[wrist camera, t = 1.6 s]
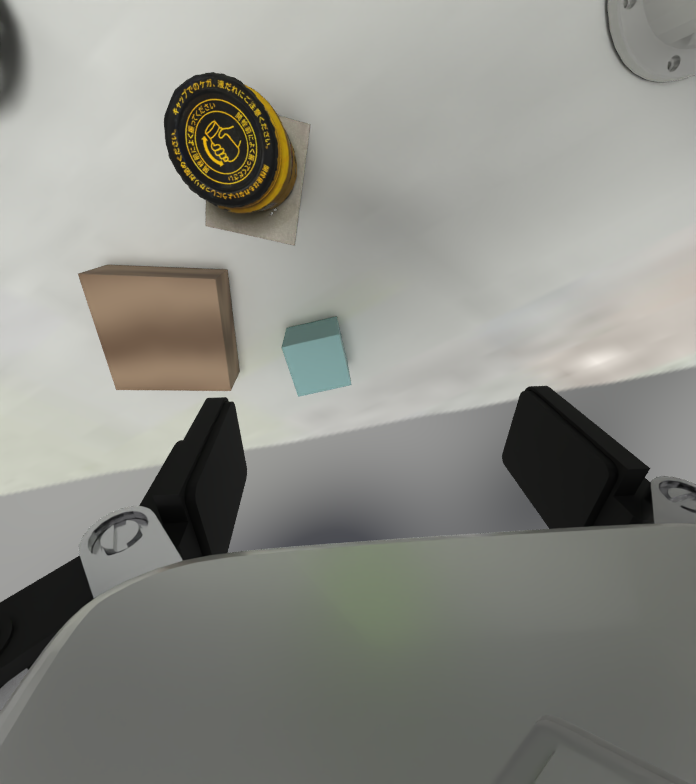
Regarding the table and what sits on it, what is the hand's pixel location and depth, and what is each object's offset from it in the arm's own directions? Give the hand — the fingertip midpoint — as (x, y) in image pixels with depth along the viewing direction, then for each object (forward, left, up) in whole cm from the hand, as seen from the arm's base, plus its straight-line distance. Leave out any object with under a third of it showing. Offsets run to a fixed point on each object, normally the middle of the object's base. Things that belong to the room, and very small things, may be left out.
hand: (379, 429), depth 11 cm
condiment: (-8, -7, -23) cm, 25 cm away
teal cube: (+6, -2, -23) cm, 24 cm away
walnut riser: (+4, -15, -23) cm, 28 cm away
